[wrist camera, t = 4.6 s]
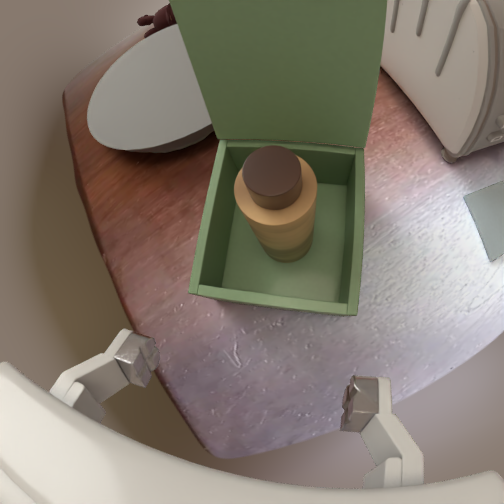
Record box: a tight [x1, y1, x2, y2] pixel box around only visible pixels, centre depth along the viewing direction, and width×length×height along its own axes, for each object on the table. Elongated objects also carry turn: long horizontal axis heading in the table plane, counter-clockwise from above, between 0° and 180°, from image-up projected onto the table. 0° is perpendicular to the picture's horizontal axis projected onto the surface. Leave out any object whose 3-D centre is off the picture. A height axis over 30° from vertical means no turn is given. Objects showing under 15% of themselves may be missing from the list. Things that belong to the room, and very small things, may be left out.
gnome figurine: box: [137, 3, 177, 38], centre depth 38 cm, size 7×7×15 cm
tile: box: [463, 181, 504, 262], centre depth 24 cm, size 8×8×1 cm
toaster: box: [380, 0, 504, 163], centre depth 20 cm, size 21×45×22 cm, turn 19°
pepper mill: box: [234, 145, 317, 263], centre depth 21 cm, size 5×5×13 cm
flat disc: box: [87, 24, 214, 153], centre depth 34 cm, size 28×28×4 cm
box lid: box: [169, 0, 387, 148], centre depth 17 cm, size 14×13×5 cm
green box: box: [188, 140, 365, 317], centre depth 25 cm, size 14×13×7 cm
